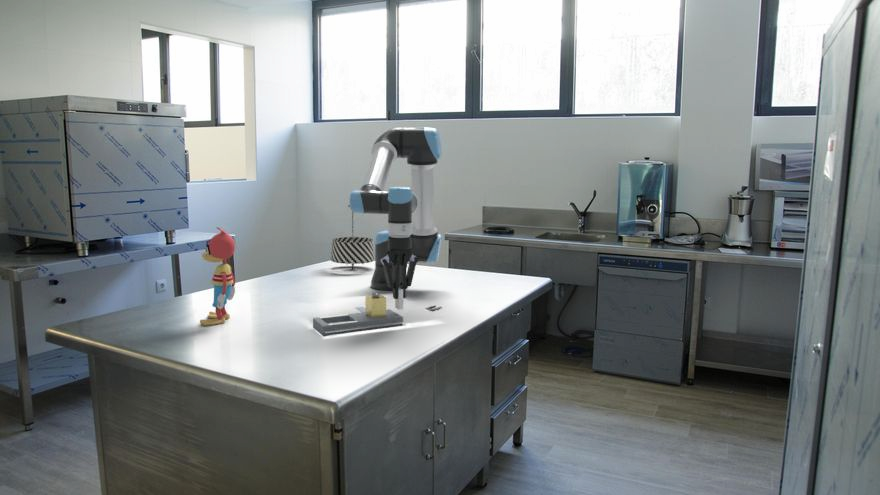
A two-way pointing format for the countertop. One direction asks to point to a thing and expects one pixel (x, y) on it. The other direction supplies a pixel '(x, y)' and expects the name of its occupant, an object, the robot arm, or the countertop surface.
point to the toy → (220, 276)
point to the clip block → (375, 305)
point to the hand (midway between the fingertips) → (399, 308)
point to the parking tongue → (361, 309)
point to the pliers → (433, 307)
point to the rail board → (355, 322)
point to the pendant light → (352, 250)
